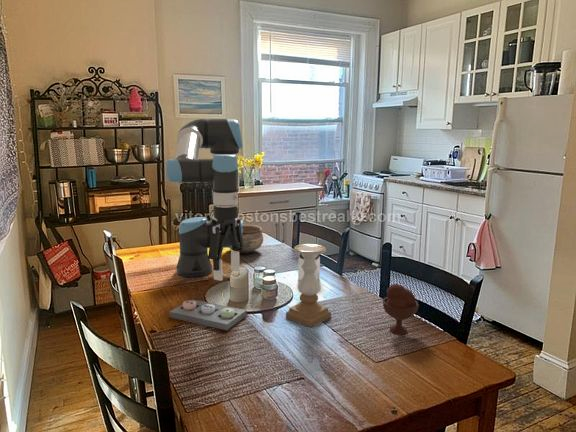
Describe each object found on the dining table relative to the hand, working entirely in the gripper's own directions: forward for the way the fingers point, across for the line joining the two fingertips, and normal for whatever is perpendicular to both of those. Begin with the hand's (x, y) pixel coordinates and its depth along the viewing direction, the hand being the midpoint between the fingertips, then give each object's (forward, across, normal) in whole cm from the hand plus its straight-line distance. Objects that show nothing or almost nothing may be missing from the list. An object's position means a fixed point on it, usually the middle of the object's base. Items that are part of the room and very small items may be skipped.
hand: (227, 274), depth 141 cm
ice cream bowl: (+16, +17, -52) cm, 56 cm away
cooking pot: (+16, +72, +36) cm, 82 cm away
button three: (+16, 0, +8) cm, 17 cm away
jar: (+16, +49, -8) cm, 52 cm away
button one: (+15, 0, 0) cm, 15 cm away
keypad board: (+16, 0, +8) cm, 17 cm away
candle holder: (+16, +14, -22) cm, 31 cm away
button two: (+15, 0, +15) cm, 21 cm away
